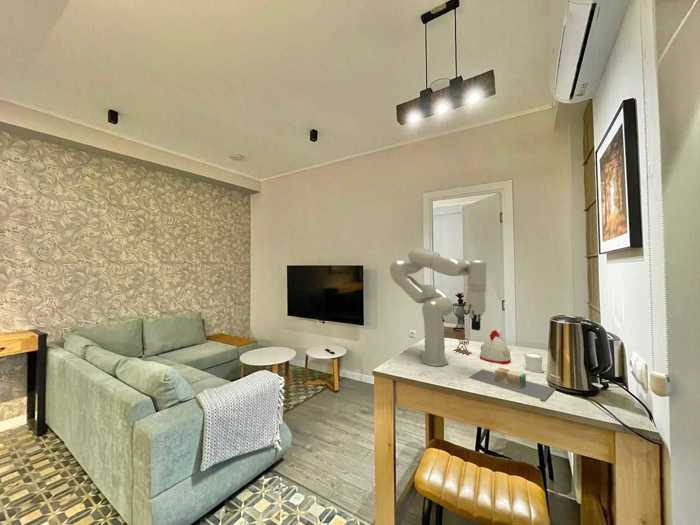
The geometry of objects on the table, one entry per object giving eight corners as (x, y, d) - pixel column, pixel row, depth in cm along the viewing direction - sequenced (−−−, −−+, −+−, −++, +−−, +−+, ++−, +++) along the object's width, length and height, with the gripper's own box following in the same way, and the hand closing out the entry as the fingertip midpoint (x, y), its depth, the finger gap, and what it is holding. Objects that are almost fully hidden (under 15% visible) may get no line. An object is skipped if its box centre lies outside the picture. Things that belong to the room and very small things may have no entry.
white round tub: (530, 367, 135) (530, 352, 135) (546, 372, 128) (545, 356, 129) (521, 369, 132) (521, 354, 132) (536, 374, 126) (536, 358, 126)
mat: (467, 378, 122) (467, 377, 122) (482, 370, 132) (482, 369, 132) (544, 401, 101) (544, 400, 101) (555, 389, 111) (555, 388, 111)
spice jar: (494, 370, 119) (521, 376, 111) (499, 367, 122) (525, 373, 114) (495, 380, 119) (521, 388, 111) (499, 377, 122) (525, 385, 114)
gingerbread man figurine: (471, 354, 155) (471, 331, 155) (467, 355, 153) (467, 333, 153) (457, 350, 163) (457, 329, 163) (453, 351, 160) (452, 330, 160)
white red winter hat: (474, 359, 147) (474, 330, 147) (488, 353, 155) (488, 326, 155) (502, 366, 136) (502, 335, 136) (515, 360, 144) (515, 330, 144)
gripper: (475, 286, 134) (475, 325, 134) (460, 288, 124) (459, 330, 125) (492, 287, 128) (491, 328, 129) (477, 290, 119) (476, 334, 119)
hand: (475, 329), depth 127 cm, fingers closed
